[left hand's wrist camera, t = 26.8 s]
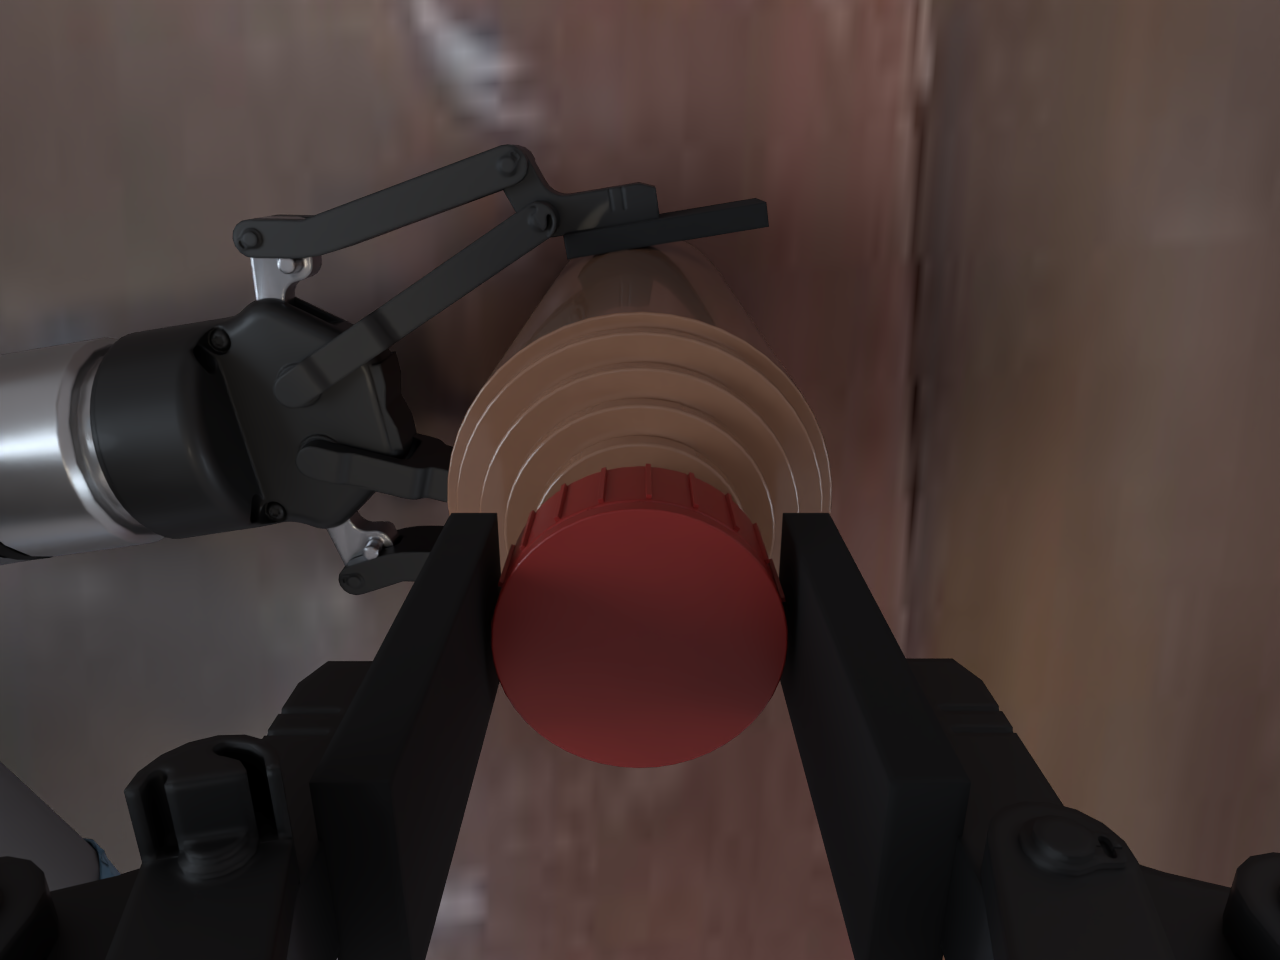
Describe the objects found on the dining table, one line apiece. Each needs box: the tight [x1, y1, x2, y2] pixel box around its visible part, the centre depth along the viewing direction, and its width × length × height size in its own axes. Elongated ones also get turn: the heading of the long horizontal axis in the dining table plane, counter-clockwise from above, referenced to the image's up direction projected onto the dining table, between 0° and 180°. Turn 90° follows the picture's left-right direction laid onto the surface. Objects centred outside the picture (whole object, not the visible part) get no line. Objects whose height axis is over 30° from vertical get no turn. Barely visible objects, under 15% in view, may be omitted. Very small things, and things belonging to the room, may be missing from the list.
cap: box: [491, 464, 788, 768], centre depth 14 cm, size 4×4×2 cm
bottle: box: [447, 241, 832, 578], centre depth 25 cm, size 8×8×24 cm
